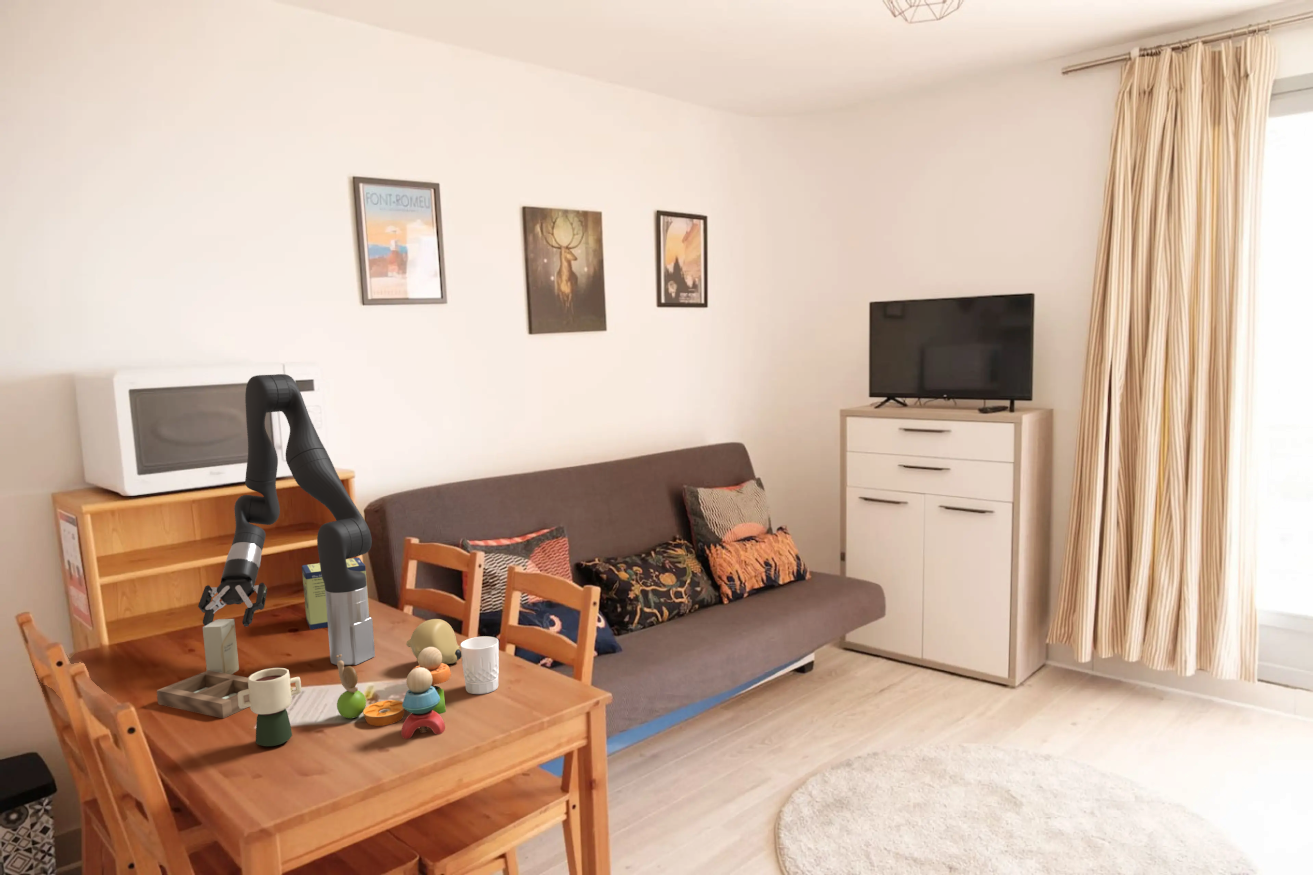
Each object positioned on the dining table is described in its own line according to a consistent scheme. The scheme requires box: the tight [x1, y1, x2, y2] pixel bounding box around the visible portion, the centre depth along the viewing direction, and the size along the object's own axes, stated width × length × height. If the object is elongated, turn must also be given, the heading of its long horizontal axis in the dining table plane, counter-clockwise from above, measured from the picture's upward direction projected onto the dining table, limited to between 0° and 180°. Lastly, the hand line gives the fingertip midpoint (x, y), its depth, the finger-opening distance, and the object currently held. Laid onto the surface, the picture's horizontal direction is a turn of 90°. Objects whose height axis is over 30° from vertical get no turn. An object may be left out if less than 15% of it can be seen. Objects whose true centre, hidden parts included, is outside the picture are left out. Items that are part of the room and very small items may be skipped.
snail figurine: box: [336, 654, 367, 719], centre depth 168 cm, size 5×6×12 cm
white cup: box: [459, 636, 500, 695], centre depth 180 cm, size 8×8×10 cm
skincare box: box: [202, 618, 240, 675], centre depth 194 cm, size 6×4×12 cm
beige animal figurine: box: [406, 618, 462, 665], centre depth 196 cm, size 10×12×11 cm
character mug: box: [238, 667, 302, 747], centre depth 157 cm, size 11×7×13 cm, turn 128°
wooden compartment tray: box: [156, 670, 250, 719], centre depth 179 cm, size 20×12×3 cm, turn 65°
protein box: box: [301, 557, 370, 631], centre depth 232 cm, size 10×16×16 cm
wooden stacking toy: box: [362, 647, 452, 740], centre depth 165 cm, size 18×17×12 cm
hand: (226, 625), depth 197 cm, fingers open, 8 cm apart
